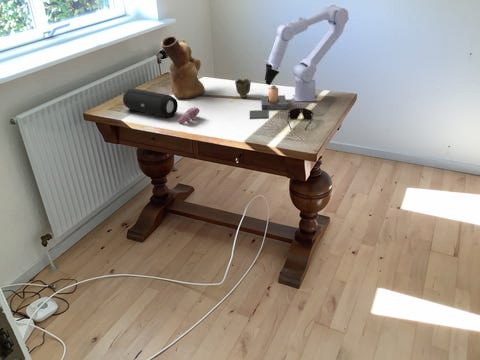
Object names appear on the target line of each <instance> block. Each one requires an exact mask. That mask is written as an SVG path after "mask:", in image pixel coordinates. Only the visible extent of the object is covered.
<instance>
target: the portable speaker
mask: <svg viewBox="0 0 480 360" xmlns="http://www.w3.org/2000/svg"><path fill="white" fill-rule="evenodd" d="M122 102H123V105H124V106H125V107H126V108H128V110H131V111H135V112H136V111H137V112H140V113H145V114H148V115H149V114H150V115H154V116H158V117H163V118H169V117H173V116H175V114H176V113H177V111H178V106H179V105H178V100H177V99H176V98H175V97H173V96H172V95H170V94H166V93H159V92H155V91H148V90H144V89H140V88H139V89H138V88H130V89H127V90H126V91H124V93H123V97H122Z"/></svg>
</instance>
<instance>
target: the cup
mask: <svg viewBox="0 0 480 360" xmlns="http://www.w3.org/2000/svg"><path fill="white" fill-rule="evenodd" d="M234 83H235V90H236V92H237V94H239V97H240V98H241V99H245V98H247V97H248V94H249V93H250V91H251V83H252V82H251V80H250V79H248V78H244V79H243V80H242V78H241V79H240V78H238V79H237V80H235V81H234Z"/></svg>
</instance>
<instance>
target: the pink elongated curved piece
mask: <svg viewBox="0 0 480 360" xmlns="http://www.w3.org/2000/svg"><path fill="white" fill-rule="evenodd" d="M200 111H201V110H200V109H199V108H197V107H195V106H194V107H190V108H188V109H187V111H185V112H184V113H183V114H182V116H180V117H179V118H178V120H177V121H178V123H179V124H181V125H182V124H184V123H186V122H187V123H190V122H191V121H192V120H194V119H195V118H196V117H197V116H198V115H199V113H200Z"/></svg>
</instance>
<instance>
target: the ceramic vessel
mask: <svg viewBox="0 0 480 360" xmlns="http://www.w3.org/2000/svg"><path fill="white" fill-rule="evenodd" d="M160 44H161V47H162V49H163V51H164V52H165V54H166V55H167V56H168V58H169V60H171V63H170V65H169V71H170V74H171V79H172V80H171V81H172V85H171V90H172V94H173V95H174V96H175V97H176V98H177V99H182V100H184V99H185V100H186V99H192V98H196V97H198V96H200V95H202V94H203V93H205V91H206V89H205V86H204V84H203V83H202V82H201V80H200V79H198V74H199V73H198V72H200V69H201V61H200V59H199V58H195V57H193V56H192V49H191V47H190V46H189V45H188V44H187V43H186V40H185V39H181V42H179V40H178V38H177V37H176V36H168V37H165V38H163V39H162V40H161V42H160Z"/></svg>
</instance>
